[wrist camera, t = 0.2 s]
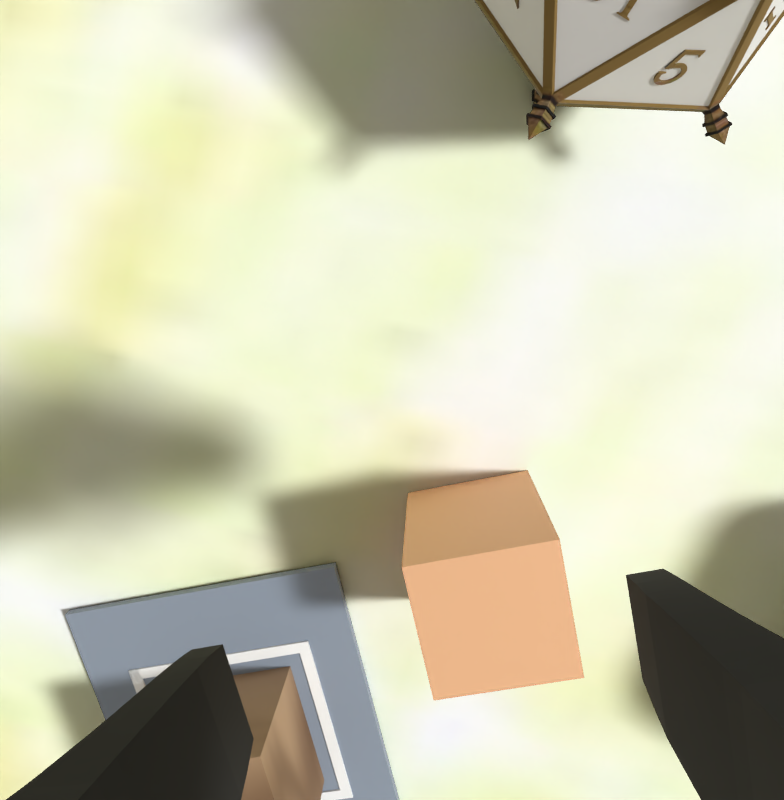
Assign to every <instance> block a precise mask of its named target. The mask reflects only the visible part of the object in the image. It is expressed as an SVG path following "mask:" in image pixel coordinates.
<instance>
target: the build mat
mask: <svg viewBox="0 0 784 800" xmlns="http://www.w3.org/2000/svg"><path fill="white" fill-rule="evenodd" d="M65 616H66V619H67V622H68V624H69V627H70V629H71V632H72V635H73V637H74V640H75V642H76V645H77V647H78V650H79V653H80V655H81V658H82V660H83V663H84V666H85V668H86V671H87V673H88V676H89V678H90V681H91V684H92V686H93V689H94V691H95V694H96V697H97V699H98V702H99V704H100V707H101V709H102V712H103V715H104V717H105V720H107V719H108V718H109V717H110V716H111V715H112V714H114V713H115V712H116V711H117V710H118V709H119V708H121V707H122V706H123V705H124V704H125V703H126V702H128V701H129V700H130V699H131V698H132V697H133V696H135V695H136V694H137V693H138V692H139V691H140V690H142V689H143V688H144V687H145V686H146V685H147V684H148V683H150V682H151V681H152V680H153V679H154V678H156V677H157V676H158V675H159V674H160V673H162V672H163V671H164V670H165V669H166V668H168V667H169V666H170V665H171V664H173V663H174V662H175V661H176V660H178V659H179V658H180V657H182V656H183V655H184V654H186V653H187V652H189V651H190V650H192V649H198V648H203V647H209V646H215V645H221V644H223V646H224V650H225V653H226V656H227V659H228V662H229V665H230V668H231V671H232V674H233V675H239V674H245V673H251V672H257V671H263V670H270V669H276V668H282V667H288V666H290V667H291V670H292V674H293V677H294V680H295V684H296V687H297V690H298V694H299V697H300V700H301V704H302V707H303V710H304V714H305V717H306V720H307V724H308V727H309V730H310V734H311V737H312V740H313V744H314V747H315V750H316V754H317V757H318V760H319V764H320V767H321V770H322V774H323V777H324V785H323V790H322V795H321V800H399V797H398V793H397V790H396V786H395V782H394V778H393V775H392V771H391V767H390V764H389V760H388V756H387V752H386V749H385V745H384V741H383V738H382V734H381V730H380V726H379V723H378V719H377V715H376V712H375V708H374V704H373V700H372V697H371V693H370V689H369V686H368V682H367V678H366V674H365V671H364V667H363V663H362V660H361V656H360V652H359V648H358V645H357V641H356V637H355V634H354V630H353V626H352V622H351V619H350V615H349V611H348V608H347V604H346V600H345V597H344V593H343V589H342V585H341V582H340V578H339V574H338V571H337V567H336V563H330V564H325V565H319V566H314V567H308V568H302V569H297V570H291V571H286V572H280V573H274V574H269V575H263V576H258V577H252V578H246V579H241V580H235V581H230V582H224V583H219V584H213V585H207V586H202V587H196V588H191V589H185V590H179V591H174V592H168V593H163V594H157V595H151V596H146V597H140V598H135V599H129V600H124V601H118V602H112V603H107V604H101V605H96V606H90V607H84V608H79V609H73V610H69V611H68V612H67V613H66V614H65Z"/></svg>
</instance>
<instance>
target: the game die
mask: <svg viewBox="0 0 784 800" xmlns="http://www.w3.org/2000/svg"><path fill="white" fill-rule="evenodd" d="M475 2H476V3H477V5H478V6H479V8H480V9H481V11H482V12H483V14H484V15H485V17H486V18H487V19H488V21H489V22H490V24H491V25H492V27H493V28H494V30H495V31H496V33H497V34H498V36H499V37H500V38H501V40H502V41H503V43H504V44H505V46H506V47H507V49H508V50H509V52H510V53H511V55H512V56H513V57H514V59H515V60H516V62H517V63H518V65H519V66H520V68H521V69H522V71H523V72H524V74H525V75H526V76H527V78H528V79H529V81H530V82H531V84H532V85H533V87H534V88H535V90H533V91H532V101H534V104H533V105H532V111H531V113H530V114H529V113H528V114H527V115H526V118H527V125H528V140H529V139H531V138H533V137H534V136H536V135H537V134H539V133H540V132H543V131H546V130H548V129H550V128H551V126H550V125H549V124H550V122H551V120H553V119H555V117H556V116H555V114H554V111H555V106H568V107H593V108H619V109H644V110H669V111H694V112H703V114H704V118H705V123H704V124H703V127H706V130H707V133H706V134H705V136H710V137H712V138H714V139H716V140H718V141H720V142H721V143H723V144H725V141H726V138H727V134H728V130H729V127H730V126H731V125H732V123H731V122H729V121H728V120H727V118H726V117H727V116H728V114H727V113H726V112H724V111H722V110H721V109H720V106H719V103H720V102H721V101H722V99H723V98H724V97H725V95H726V94H727V92H728V91H729V90H730V88H731V87H732V86H733V84H734V83H735V82H736V80H737V79H738V77H739V76H740V75H741V73H742V72H743V71H744V69H745V68H746V66H747V65H748V64H749V62H750V61H751V60H752V58H753V57H754V56H755V54H756V53H757V51H758V50H759V49H760V47H761V46H762V45H763V43H764V42H765V40H766V39H767V38H768V36H769V35H770V34H771V32H772V31H773V30H774V28H775V27H776V25H777V24H778V23H779V21H780V20H781V19H782V17H783V16H784V0H475Z"/></svg>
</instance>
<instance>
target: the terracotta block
mask: <svg viewBox="0 0 784 800" xmlns="http://www.w3.org/2000/svg"><path fill="white" fill-rule="evenodd" d="M402 571H403V575H404V580H405V584H406V588H407V592H408V596H409V600H410V604H411V608H412V613H413V617H414V621H415V625H416V629H417V633H418V637H419V641H420V645H421V650H422V654H423V658H424V662H425V666H426V670H427V674H428V678H429V683H430V687H431V691H432V695H433V699H434V700H440V699H446V698H453V697H459V696H466V695H473V694H479V693H486V692H493V691H499V690H506V689H512V688H519V687H526V686H532V685H539V684H546V683H552V682H559V681H565V680H572V679H579V678H584V674H583V669H582V663H581V657H580V652H579V646H578V640H577V635H576V629H575V624H574V618H573V612H572V607H571V601H570V595H569V590H568V584H567V578H566V573H565V567H564V562H563V556H562V550H561V545H560V539H559V537H558V535H557V533H556V531H555V529H554V526H553V524H552V522H551V520H550V518H549V516H548V513H547V511H546V509H545V507H544V505H543V503H542V501H541V498H540V496H539V494H538V492H537V490H536V488H535V485H534V483H533V481H532V479H531V477H530V475H529V473H528V470H526V471H521V472H515V473H510V474H505V475H500V476H494V477H489V478H484V479H478V480H473V481H468V482H463V483H457V484H452V485H447V486H441V487H436V488H431V489H426V490H420V491H415V492H410V493H408V497H407V509H406V521H405V532H404V544H403V556H402Z"/></svg>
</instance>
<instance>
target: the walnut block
mask: <svg viewBox="0 0 784 800" xmlns="http://www.w3.org/2000/svg"><path fill="white" fill-rule="evenodd" d="M233 677H234V680H235V683H236V686H237V689H238V692H239V695H240V698H241V702H242V705H243V708H244V711H245V714H246V717H247V720H248V723H249V726H250V729H251V732H252V735H253V738H254V740H253V745H252V750H251V755H250V761H249V766H248V771H247V775H246V780H245V784H244V789H243V793H242V798H241V800H321V795H322V790H323V785H324V777H323V774H322V770H321V767H320V764H319V760H318V757H317V754H316V750H315V747H314V744H313V740H312V737H311V734H310V730H309V727H308V724H307V720H306V717H305V714H304V710H303V707H302V704H301V700H300V697H299V694H298V690H297V687H296V684H295V680H294V677H293V674H292V670H291V667H290V666H288V667H282V668H276V669H270V670H263V671H257V672H251V673H245V674H239V675H233Z"/></svg>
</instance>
